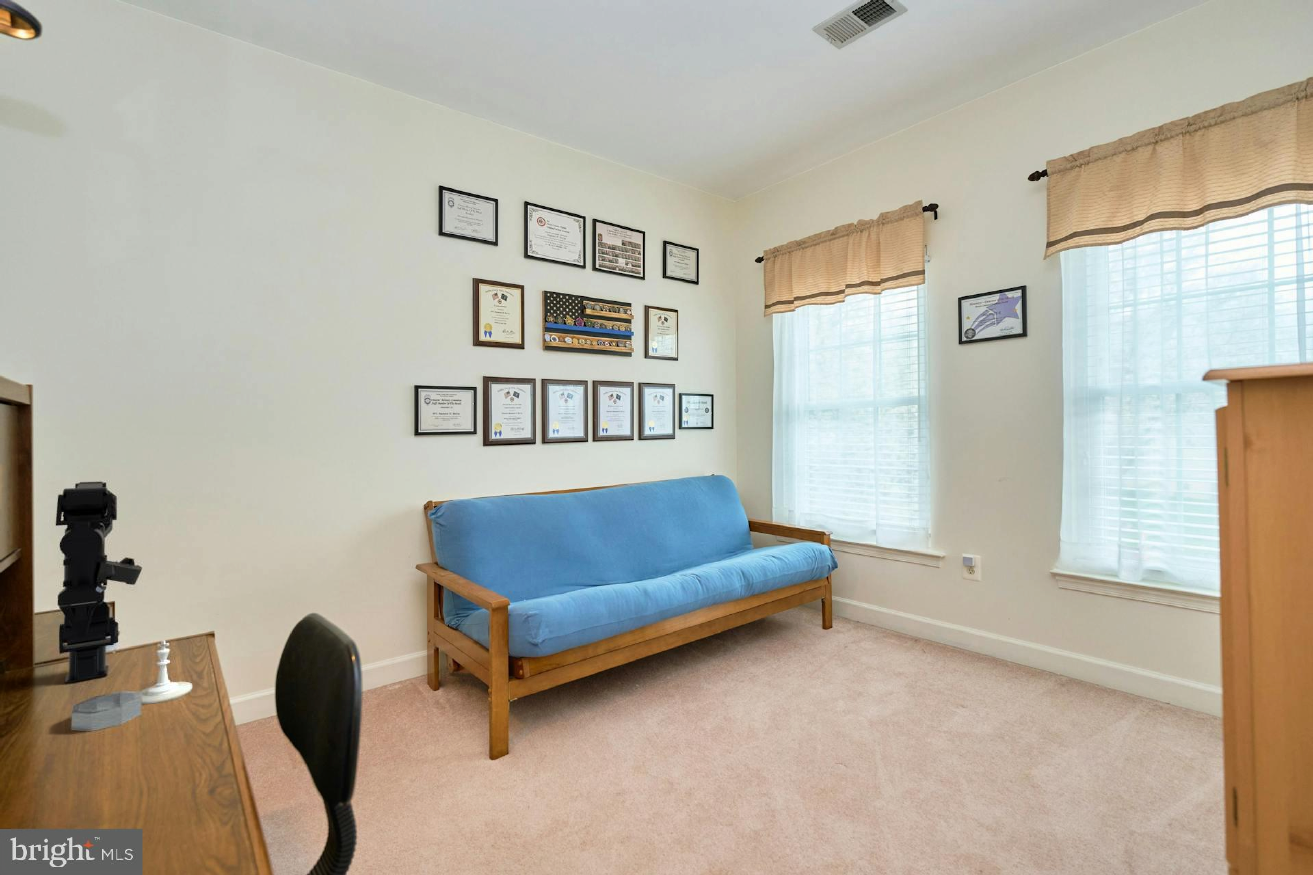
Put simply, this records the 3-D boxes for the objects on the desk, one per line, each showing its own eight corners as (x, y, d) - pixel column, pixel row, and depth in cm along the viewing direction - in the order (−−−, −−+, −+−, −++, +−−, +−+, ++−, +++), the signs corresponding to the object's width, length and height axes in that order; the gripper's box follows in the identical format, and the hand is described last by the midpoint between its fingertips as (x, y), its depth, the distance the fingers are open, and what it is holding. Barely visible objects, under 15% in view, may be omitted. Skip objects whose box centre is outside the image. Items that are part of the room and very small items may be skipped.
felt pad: (133, 692, 119) (133, 689, 119) (190, 681, 125) (190, 678, 125) (133, 708, 112) (133, 704, 112) (193, 694, 118) (193, 691, 118)
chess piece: (168, 695, 117) (169, 643, 117) (140, 696, 116) (141, 645, 116) (184, 684, 122) (184, 635, 122) (156, 686, 121) (157, 637, 121)
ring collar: (74, 716, 109) (74, 700, 109) (141, 702, 115) (141, 687, 115) (70, 735, 102) (70, 718, 102) (141, 719, 108) (141, 703, 108)
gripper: (139, 553, 115) (138, 634, 115) (139, 541, 129) (138, 612, 129) (57, 560, 108) (56, 647, 108) (67, 546, 122) (66, 623, 122)
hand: (83, 631), depth 117 cm, fingers open, 9 cm apart
